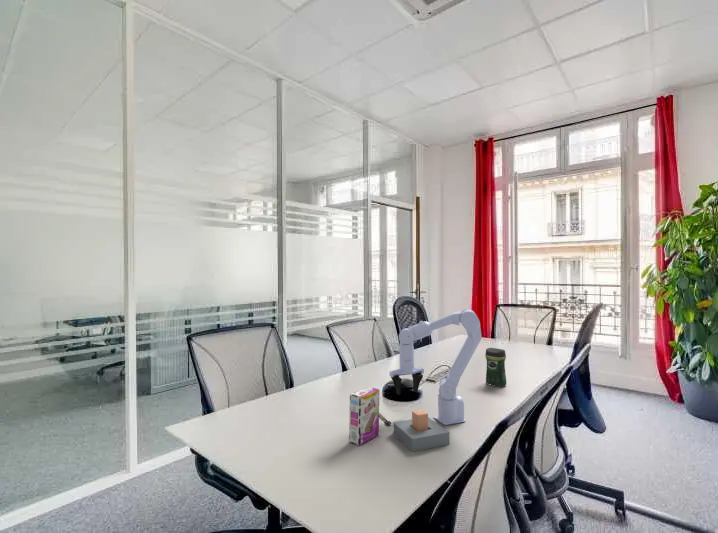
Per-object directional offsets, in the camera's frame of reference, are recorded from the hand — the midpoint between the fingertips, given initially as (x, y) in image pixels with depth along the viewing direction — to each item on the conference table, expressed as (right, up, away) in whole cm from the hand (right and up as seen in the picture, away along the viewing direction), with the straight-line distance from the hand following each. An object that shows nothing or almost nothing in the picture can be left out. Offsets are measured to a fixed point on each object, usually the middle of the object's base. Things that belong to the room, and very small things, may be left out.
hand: (407, 392), depth 146 cm
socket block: (+2, -9, -20) cm, 22 cm away
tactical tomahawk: (-12, -10, +1) cm, 16 cm away
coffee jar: (+51, -10, +40) cm, 66 cm away
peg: (+2, -9, -19) cm, 22 cm away
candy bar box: (-17, -9, -20) cm, 28 cm away
